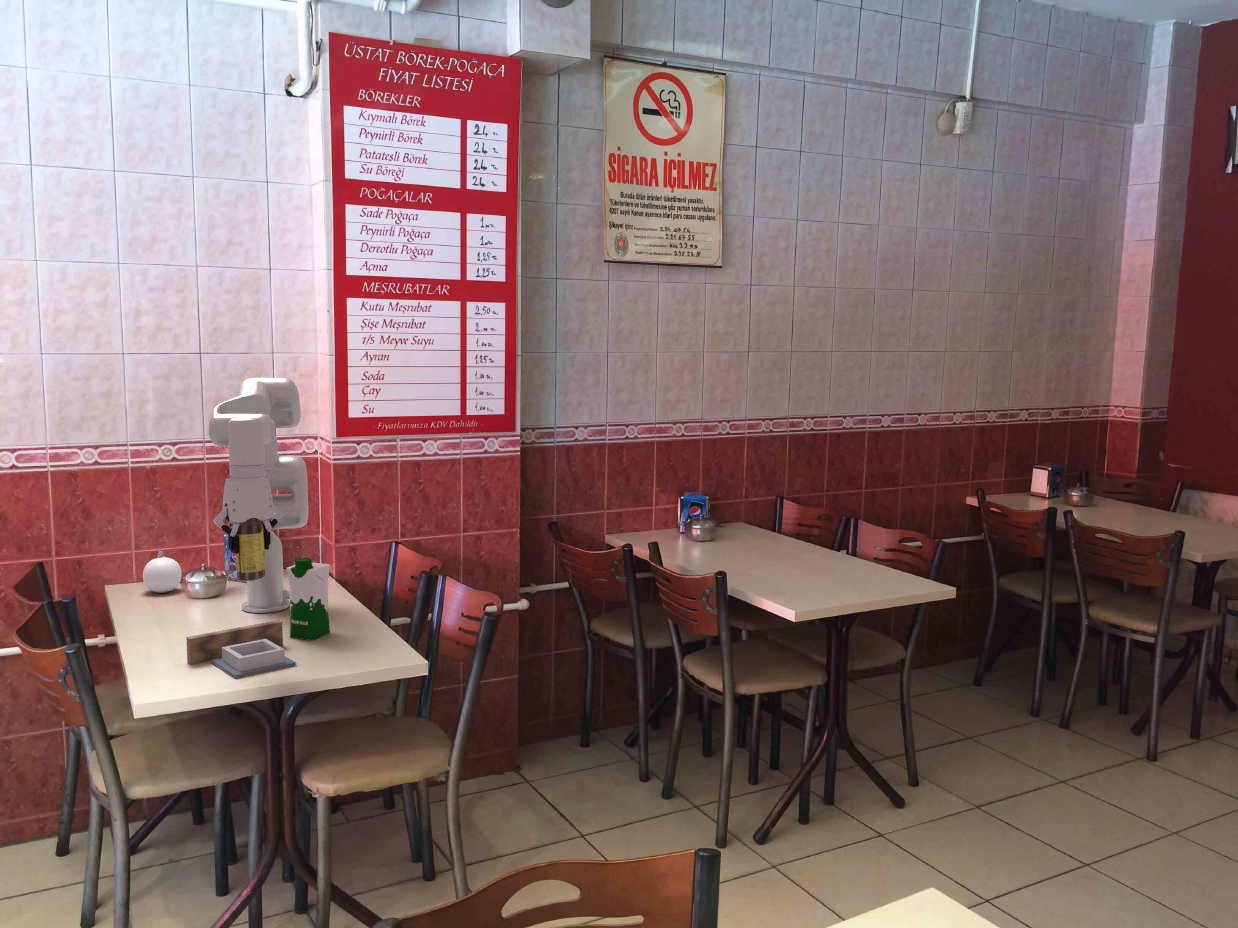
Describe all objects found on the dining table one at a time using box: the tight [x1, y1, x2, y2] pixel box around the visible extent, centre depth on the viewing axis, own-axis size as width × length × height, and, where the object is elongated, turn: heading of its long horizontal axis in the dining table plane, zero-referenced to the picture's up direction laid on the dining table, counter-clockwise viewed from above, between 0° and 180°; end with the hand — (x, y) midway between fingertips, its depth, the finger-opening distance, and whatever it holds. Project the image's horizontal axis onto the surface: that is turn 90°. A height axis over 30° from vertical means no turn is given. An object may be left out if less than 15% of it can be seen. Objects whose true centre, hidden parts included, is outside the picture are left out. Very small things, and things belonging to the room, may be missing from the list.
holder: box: [210, 639, 297, 680], centre depth 229 cm, size 14×14×4 cm
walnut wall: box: [185, 619, 284, 665], centre depth 236 cm, size 22×2×6 cm, turn 132°
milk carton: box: [286, 557, 331, 641], centre depth 251 cm, size 9×9×20 cm
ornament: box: [142, 550, 183, 594], centre depth 291 cm, size 10×10×12 cm
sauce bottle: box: [235, 518, 265, 582], centre depth 226 cm, size 6×6×20 cm
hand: (249, 549), depth 226 cm, fingers closed on sauce bottle, 6 cm apart
